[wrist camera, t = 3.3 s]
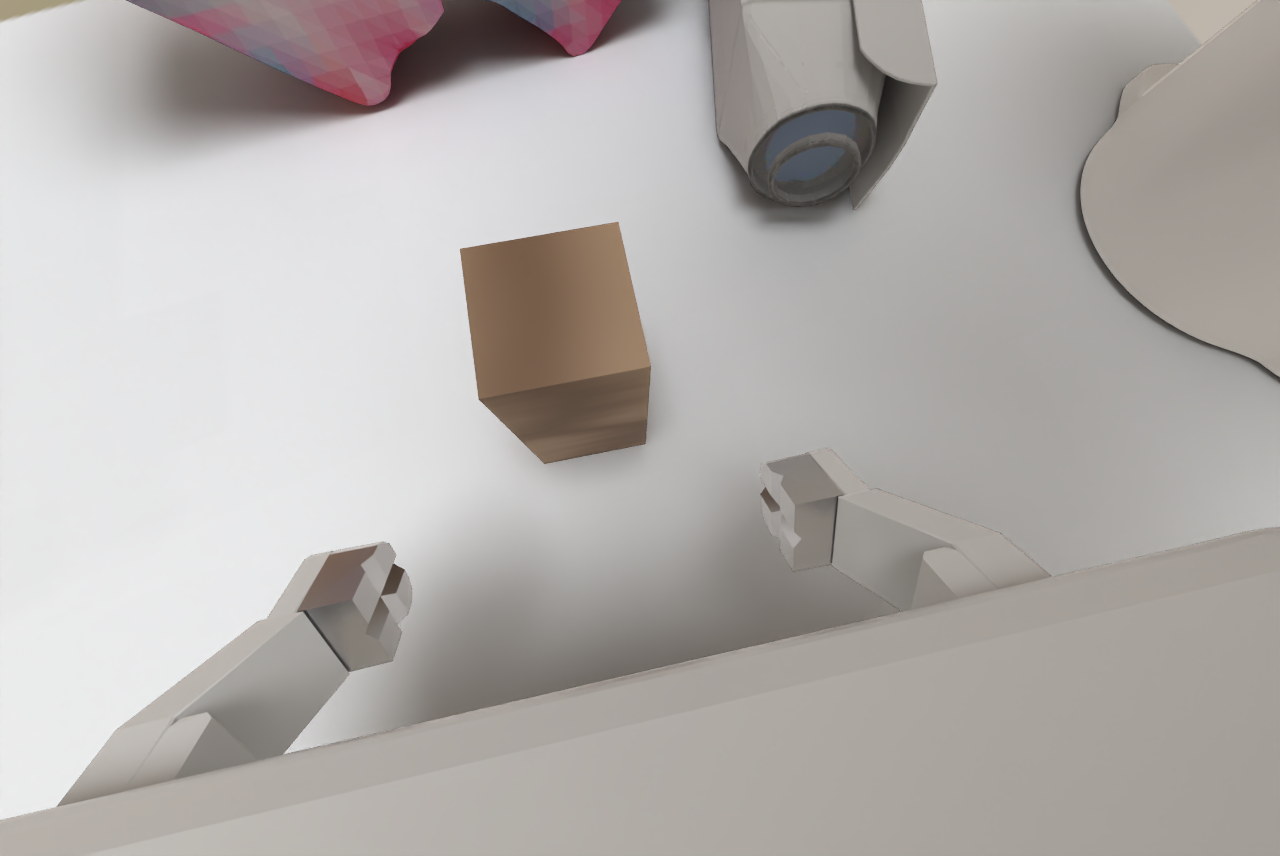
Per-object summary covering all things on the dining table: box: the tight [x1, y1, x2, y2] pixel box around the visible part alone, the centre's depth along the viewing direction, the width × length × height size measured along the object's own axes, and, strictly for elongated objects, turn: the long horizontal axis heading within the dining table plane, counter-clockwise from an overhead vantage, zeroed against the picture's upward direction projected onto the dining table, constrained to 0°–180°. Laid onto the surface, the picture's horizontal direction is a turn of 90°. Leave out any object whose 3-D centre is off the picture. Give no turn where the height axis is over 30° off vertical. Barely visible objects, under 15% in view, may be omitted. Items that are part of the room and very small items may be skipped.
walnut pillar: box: [460, 222, 651, 464], centre depth 17 cm, size 4×4×9 cm
